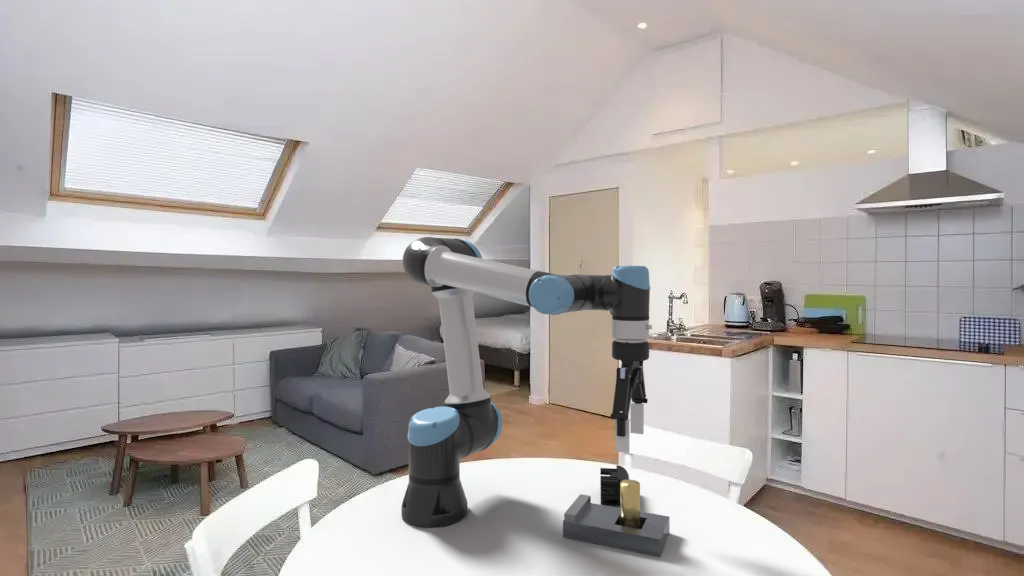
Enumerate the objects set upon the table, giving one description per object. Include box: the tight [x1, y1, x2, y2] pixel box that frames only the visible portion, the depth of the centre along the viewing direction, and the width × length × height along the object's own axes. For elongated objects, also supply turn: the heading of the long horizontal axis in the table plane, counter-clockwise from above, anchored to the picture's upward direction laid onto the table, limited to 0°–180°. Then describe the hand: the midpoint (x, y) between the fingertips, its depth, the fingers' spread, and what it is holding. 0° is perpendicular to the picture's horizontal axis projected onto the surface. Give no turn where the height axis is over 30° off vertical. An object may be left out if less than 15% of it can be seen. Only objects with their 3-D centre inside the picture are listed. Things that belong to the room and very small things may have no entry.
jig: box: [562, 493, 670, 558], centre depth 117 cm, size 20×11×5 cm, turn 65°
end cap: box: [599, 465, 630, 507], centre depth 135 cm, size 10×7×7 cm
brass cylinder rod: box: [619, 479, 641, 529], centre depth 115 cm, size 4×4×10 cm
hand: (629, 442), depth 115 cm, fingers open, 13 cm apart
